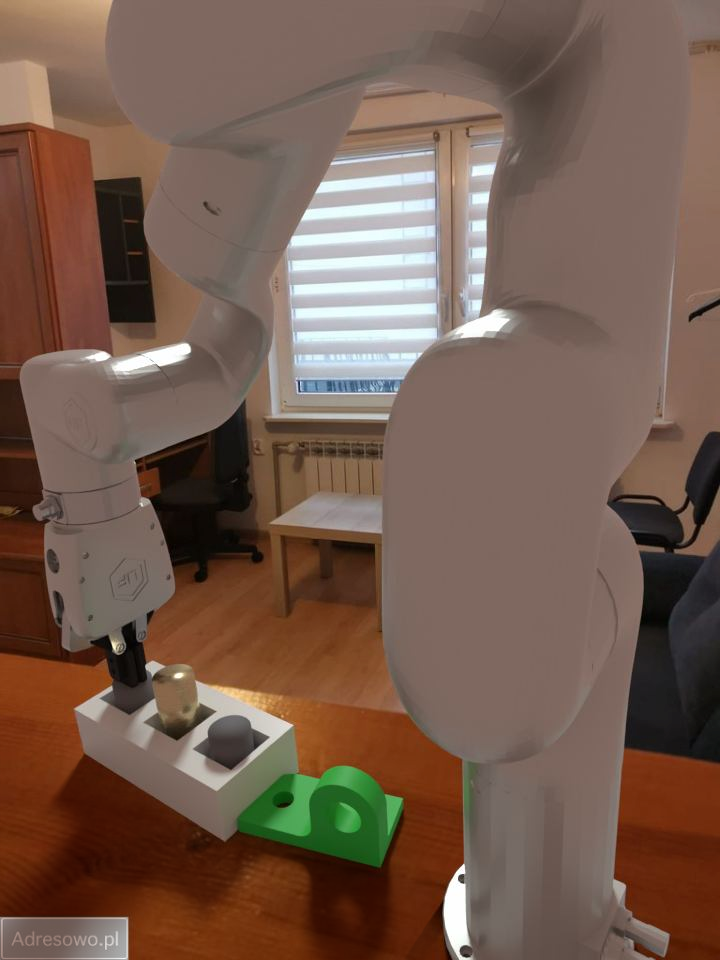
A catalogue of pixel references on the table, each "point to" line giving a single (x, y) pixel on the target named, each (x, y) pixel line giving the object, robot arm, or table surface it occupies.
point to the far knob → (133, 695)
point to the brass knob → (176, 700)
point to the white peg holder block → (188, 755)
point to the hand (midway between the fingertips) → (130, 679)
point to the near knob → (230, 740)
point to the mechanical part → (327, 814)
